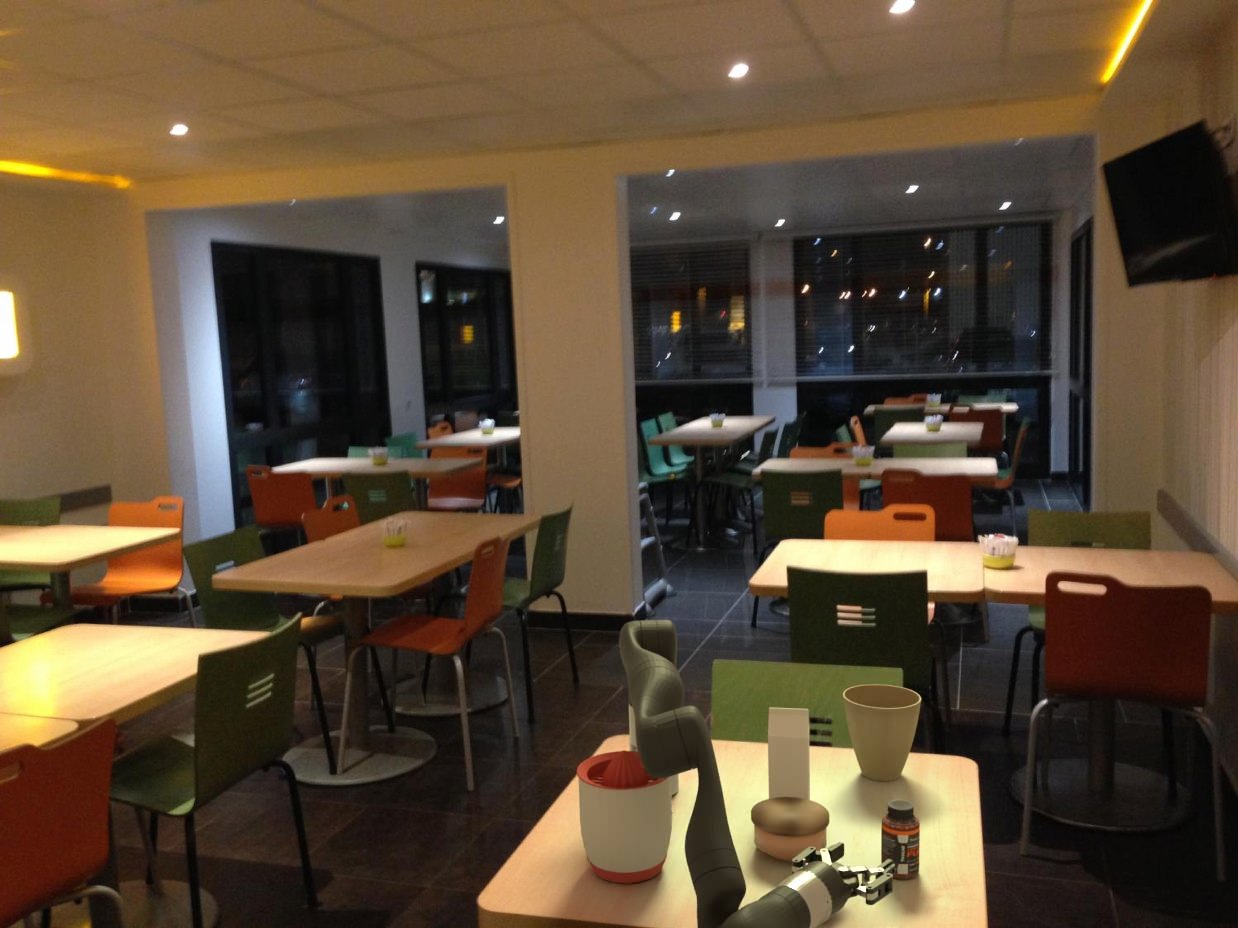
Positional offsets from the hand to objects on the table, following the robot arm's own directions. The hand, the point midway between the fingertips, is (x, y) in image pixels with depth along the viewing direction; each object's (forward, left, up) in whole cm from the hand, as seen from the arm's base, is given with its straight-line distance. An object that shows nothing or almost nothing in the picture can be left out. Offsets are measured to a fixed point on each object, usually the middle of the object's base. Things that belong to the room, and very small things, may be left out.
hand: (866, 856), depth 164 cm
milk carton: (-6, +32, -7) cm, 34 cm away
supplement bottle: (+7, +7, -7) cm, 13 cm away
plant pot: (+15, +46, -7) cm, 49 cm away
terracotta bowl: (-9, +16, -7) cm, 20 cm away
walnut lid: (-9, +16, -1) cm, 19 cm away
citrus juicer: (-36, +13, -7) cm, 39 cm away
